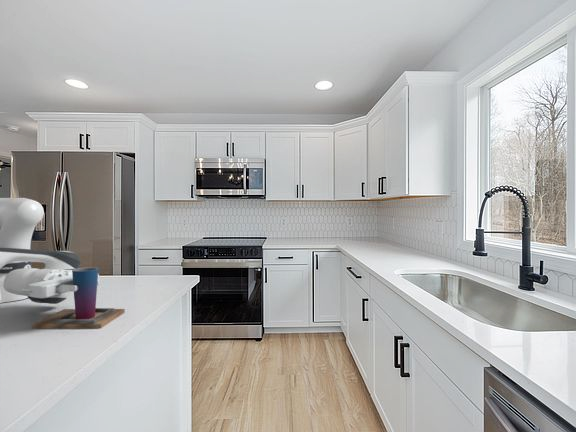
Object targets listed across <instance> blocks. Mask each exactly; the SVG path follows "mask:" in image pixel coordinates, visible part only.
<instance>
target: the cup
mask: <svg viewBox="0 0 576 432" xmlns="http://www.w3.org/2000/svg"><path fill="white" fill-rule="evenodd" d="M98 274H99V268H98V267H95V266H93V267H91V266H89V267H88V266H87V267H79V268H78V269H74V270H72V275H73V285H74V284H75V285H79V290H78V291H75V292H73V300H74V301H73V302H74V309H75V314H76V319H91V318H93V317H95V309H96V308H97V293H98V292H97V291H98V285H97V280H98Z"/></svg>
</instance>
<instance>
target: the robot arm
mask: <svg viewBox="0 0 576 432" xmlns="http://www.w3.org/2000/svg"><path fill="white" fill-rule="evenodd" d="M44 214H45V211H44V206H42V204H41V203H40V202H38V201H37V200H34V199H30V198H27V197H0V304H2V303H9V302H16V301H21V300H25V299H29V300H30V301H31V302H33V303H39V304H48V305H49V304H51V305H58V304H60V303H62V302H64V301H65V300H66V299H67V298H68V297H69V293H70V292H71V293H72V292H73V293H74V292H75V291H78V290H79V285H75V284H74V285H73V275H72V270H74V269H78V268H81V265H82V261H81V259H80V256H79V255H78V254H77V253H75V252H73V251H69V250H42V249H31V246H32V245H31V242H32V237H33V235H34V231H35V228H36V226H37V224H38V223H40V222H41V221H42V219H43V218H44V216H45V215H44ZM33 263H43V264H44V265H45V266H44V268H41V269H40V268H36V267H35V268H34V267H33ZM99 285H100V274H99V273H98V280H97V286H99Z"/></svg>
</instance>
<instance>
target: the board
mask: <svg viewBox="0 0 576 432" xmlns="http://www.w3.org/2000/svg"><path fill="white" fill-rule="evenodd" d="M125 312H126V309H125V308H114V307H96V309H95V317H93V318H91V319H76V314H75V308H64V309H62V310H59V311H57V312H54V313H53V314H51V315H48V316H46V317H44V318H42V319H40V320H38V321H36V322H33V323H31V324H30V326H31V327H30V329H102V328H103V327H105V326H106V325H108V324H110V323H111V322H113V321H114V320H116V319H117V318H119V317H121V316H122V315H124V314H125Z"/></svg>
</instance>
